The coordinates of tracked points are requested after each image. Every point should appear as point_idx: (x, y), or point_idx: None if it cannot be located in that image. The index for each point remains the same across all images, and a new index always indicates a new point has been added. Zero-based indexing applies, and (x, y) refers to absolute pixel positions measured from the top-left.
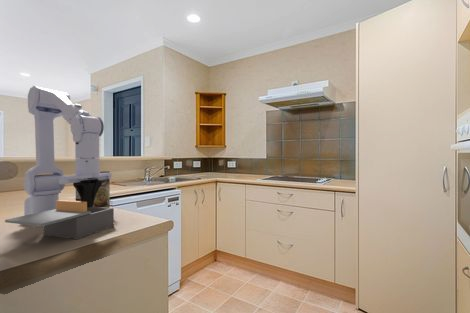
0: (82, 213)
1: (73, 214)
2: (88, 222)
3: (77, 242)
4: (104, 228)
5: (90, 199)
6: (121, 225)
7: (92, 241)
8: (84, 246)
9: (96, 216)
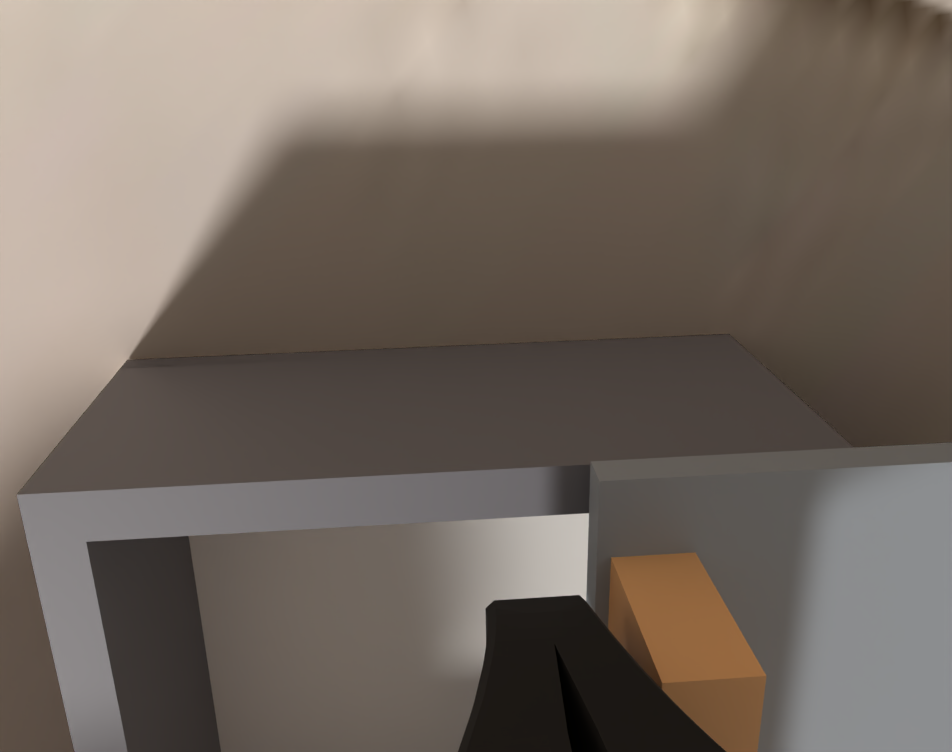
0: (783, 469)
1: (879, 541)
2: (598, 408)
3: (808, 229)
4: (303, 355)
5: (615, 681)
6: (45, 272)
7: (744, 68)
8: (913, 3)
9: (451, 441)
